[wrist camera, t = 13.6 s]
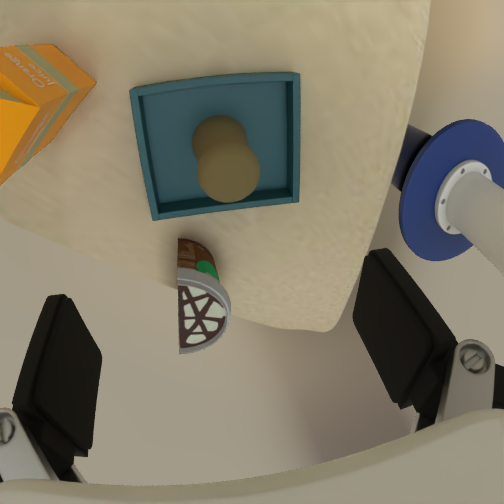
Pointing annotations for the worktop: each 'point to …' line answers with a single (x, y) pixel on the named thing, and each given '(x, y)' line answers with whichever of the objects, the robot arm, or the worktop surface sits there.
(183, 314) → the food container
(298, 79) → the tray
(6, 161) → the orange juice
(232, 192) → the olive tapered rounded piece
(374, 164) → the worktop surface
